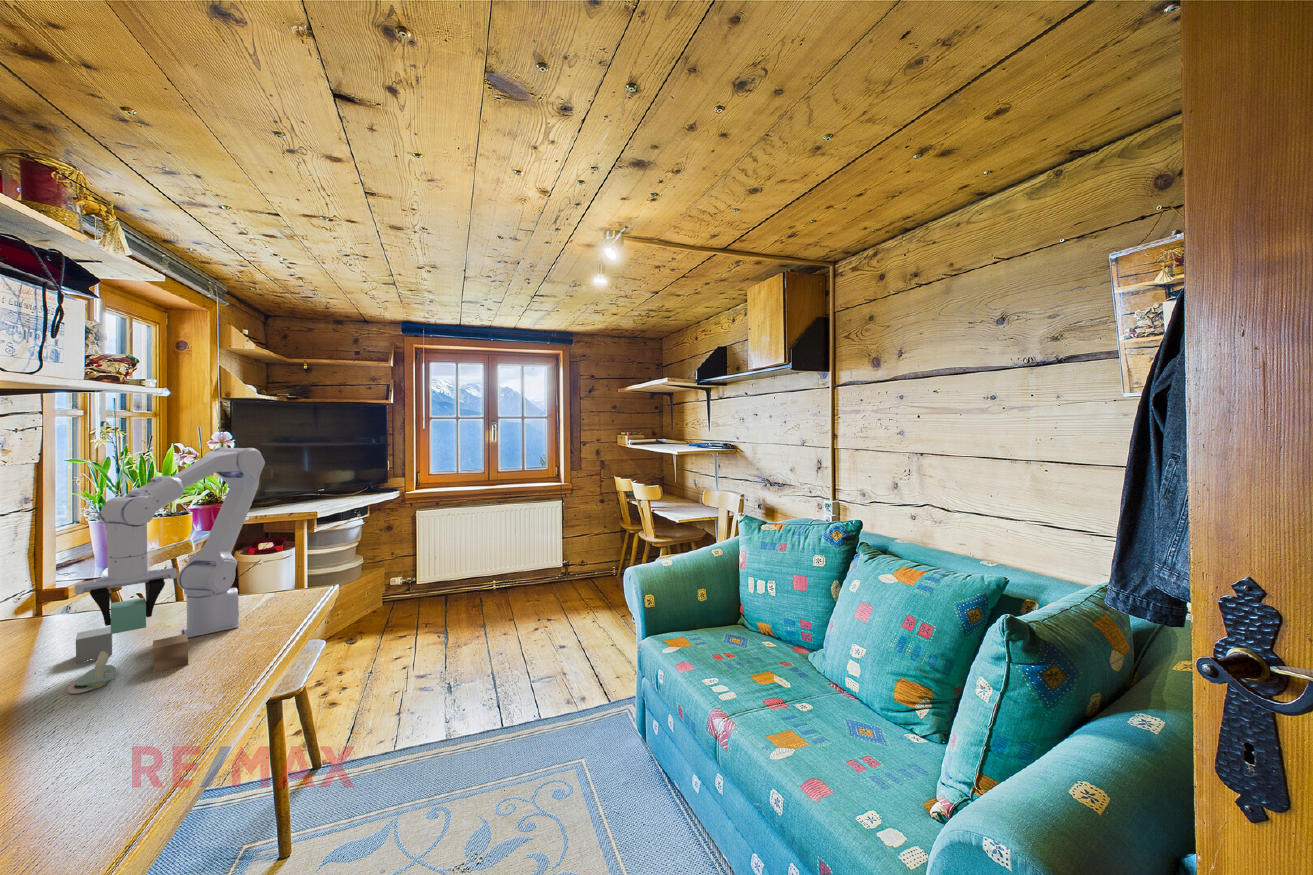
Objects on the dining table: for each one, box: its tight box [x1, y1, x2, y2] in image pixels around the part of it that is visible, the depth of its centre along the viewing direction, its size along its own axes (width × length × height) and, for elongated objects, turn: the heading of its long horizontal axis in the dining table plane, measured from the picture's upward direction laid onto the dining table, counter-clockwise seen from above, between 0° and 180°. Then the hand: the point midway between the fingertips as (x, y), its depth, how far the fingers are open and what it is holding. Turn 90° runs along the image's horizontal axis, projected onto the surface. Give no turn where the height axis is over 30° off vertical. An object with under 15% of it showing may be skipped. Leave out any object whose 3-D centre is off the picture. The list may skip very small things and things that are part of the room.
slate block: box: [75, 625, 114, 664], centre depth 107 cm, size 5×5×5 cm
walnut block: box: [152, 633, 189, 674], centre depth 104 cm, size 5×5×5 cm
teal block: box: [110, 597, 147, 635], centre depth 106 cm, size 5×5×5 cm
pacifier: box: [67, 651, 117, 695], centre depth 96 cm, size 7×6×6 cm
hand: (128, 619), depth 106 cm, fingers closed on teal block, 5 cm apart
